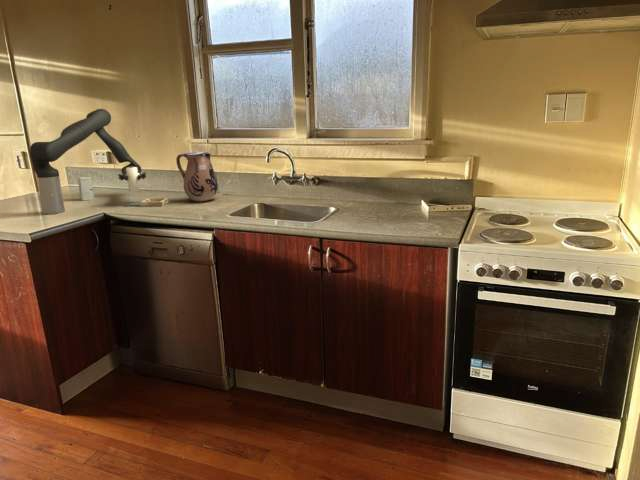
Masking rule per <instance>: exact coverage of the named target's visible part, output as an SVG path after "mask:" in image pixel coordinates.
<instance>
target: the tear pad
mask: <svg viewBox="0 0 640 480" xmlns="http://www.w3.org/2000/svg"><path fill="white" fill-rule="evenodd" d="M142 201H143V200H138V201H137V200H135V201H133V200H132V201H129V202H126V203H125V204H123V205H122V207H124V208H125V207H141V206H140V202H142Z"/></svg>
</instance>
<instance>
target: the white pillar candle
mask: <svg viewBox="0 0 640 480" xmlns="http://www.w3.org/2000/svg"><path fill="white" fill-rule="evenodd" d="M126 172H127V178H128V181H127V184H128V192H130V193H138V192H141V190H140V180H138V171H137V167H128V168H126Z"/></svg>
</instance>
